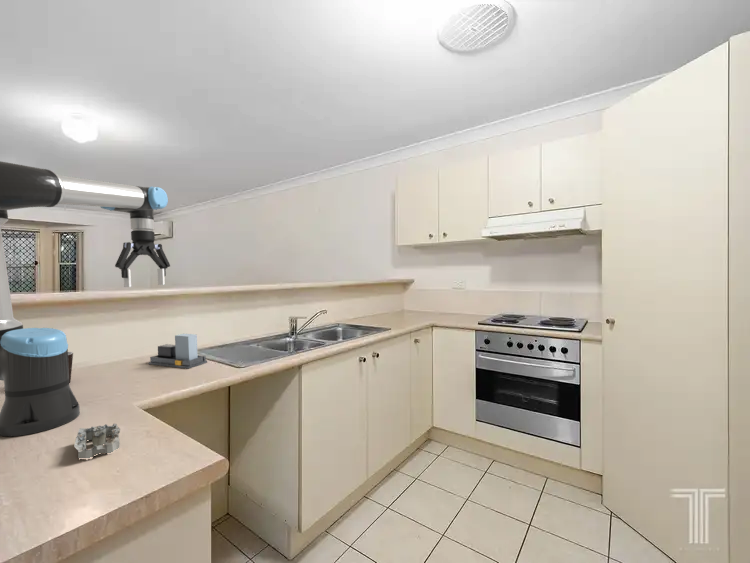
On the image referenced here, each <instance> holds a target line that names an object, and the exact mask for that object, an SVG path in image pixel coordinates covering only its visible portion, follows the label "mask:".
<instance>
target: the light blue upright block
mask: <svg viewBox="0 0 750 563" xmlns="http://www.w3.org/2000/svg"><path fill="white" fill-rule="evenodd" d="M174 345H175V349H176V359H181V360H192V359H195V358H198V355H199V354H198V334H194V333H193V334H192V333H180V334H177V335H176V334H175V335H174Z"/></svg>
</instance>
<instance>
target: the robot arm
mask: <svg viewBox="0 0 750 563" xmlns="http://www.w3.org/2000/svg"><path fill="white" fill-rule="evenodd" d="M168 202H169V199H168V194H167V192H166V191H165V190H164V189H163V188H161V187H159V186H149V187H148V186H140V185H139V186H137V185H131V184H125V183H117V182H110V181H109V182H108V181H104V180H97V179H96V180H95V179H88V178H82V177H76V176H67V175H62V174H61V175H60V174H57V173H55V171H53V170H51V169H47V168H39V167H34V166H28V165H23V164H17V163H12V162H6V161H0V381H1V382H2V381H3V384H4V397H5V398H4V401H3V404H2V405H1V409H0V436H2V437H18V436H26V435H32V434H36V433H40V432H45V431H47V430H52V429H54V428H57V427H60V426H63V425H65V424H68V423H70V422H73V420H75V419H77V418H78V417H79V415H80V414H81V411H80V410H81V409H80V404H79V402H78V400H77V398H76V396H75V394H74V391H73V390H72V389H71V386H70V383H69V368H68V352H69V350H68V348H69V344H68V341H67V335H66V333H65V332H64V331H63V330H60V329H57V328H53V327H52V328H50V327H40V328H39V327H27V328H24V324H23V322H21V321H20V320H18V319H16V318H15V317H14V311H13V304H12V298H11V296H12V295H11V291H10V289H11V288H10V283H9V282H10V281H9V277H8V269H7V262H6V261H7V260H6V255H5V247H4V243H3V242H4V240H3V233H2V226H3V225H5V223H7V222H8V221H9V214H8V211H10V210H19V209H26V208H55V207H57V206H58V205H71V206H85V207H86V206H87V207H89V206H90V207H100V208H101V209H104V210H108V211H111V212H113V211H114V212H120V213H127V214H129V219H130V229H131V231H130V238H131V239H130V240H131V241H132V242H130V241H128V242H123V243H122V250H121V252H120V253H119V256H118V258H117V260H116V262H115V264H114V267H115V268H118V269H119V270H120V271H121V278H122V279H123V287H124V288H131V287H132V277H131V276H132V274H131V273H132V272H131V269H130V268H129V267H131V265H132V264H133V263H134V261H135V260H136V259H137V257H138V256H149V257H150V258H151V260H152V261H153V262H154V263H155V264H156V266H157V267H158V268H157V285H158V286H159V285H160V286H164V285H165V284H166V283H165V280H166V279H165V277H166V274H167V272H166V269H168V268H169V267H171V264H170V262H169V260H168V258H167V256H166V254H165V251H164V250H163V245H162V243H154V242H155V240H156V238H155V237H156V236H155V232H154V230H155V220H154V219H155V218H154V210H156V211H157V210H162V209H164V208H166V207H167V205H168ZM131 249H132V250H131Z"/></svg>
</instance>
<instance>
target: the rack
mask: <svg viewBox="0 0 750 563" xmlns="http://www.w3.org/2000/svg"><path fill="white" fill-rule="evenodd" d="M149 358H150V359H149V362H148V365H151V364H152V365H151V366H159V365H160V366H161V367H168V366H169V367H170V368H177V367H178V369H179V368H180V369H185V368H186V369H188V370H189V368H190V369H192V368H195V367H198V366H201V365H204V364H207V363H208V360H206V359H207V358H206V355H199V354H198V358H195V359H192V360H181V359H176V349H175V344H172V343H171V344H169V343H165V344H162V345H157V354H156V355H153V356H150V357H149ZM186 369H185V370H186Z"/></svg>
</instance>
